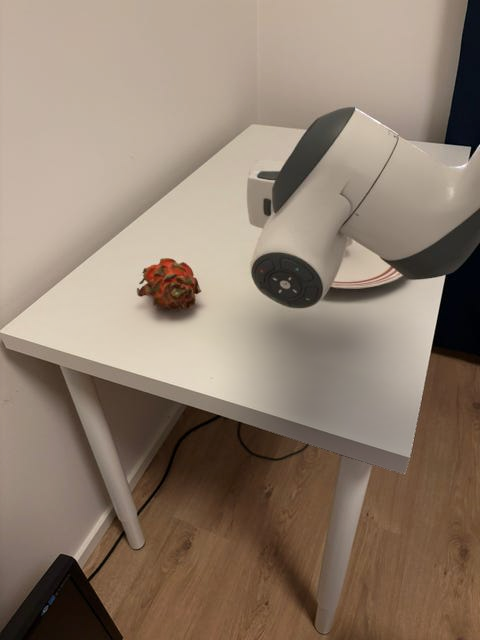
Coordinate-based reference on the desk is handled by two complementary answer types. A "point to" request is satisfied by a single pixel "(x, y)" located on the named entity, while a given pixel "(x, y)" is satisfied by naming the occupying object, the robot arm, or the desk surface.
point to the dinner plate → (363, 269)
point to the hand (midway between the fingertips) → (338, 162)
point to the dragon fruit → (170, 285)
